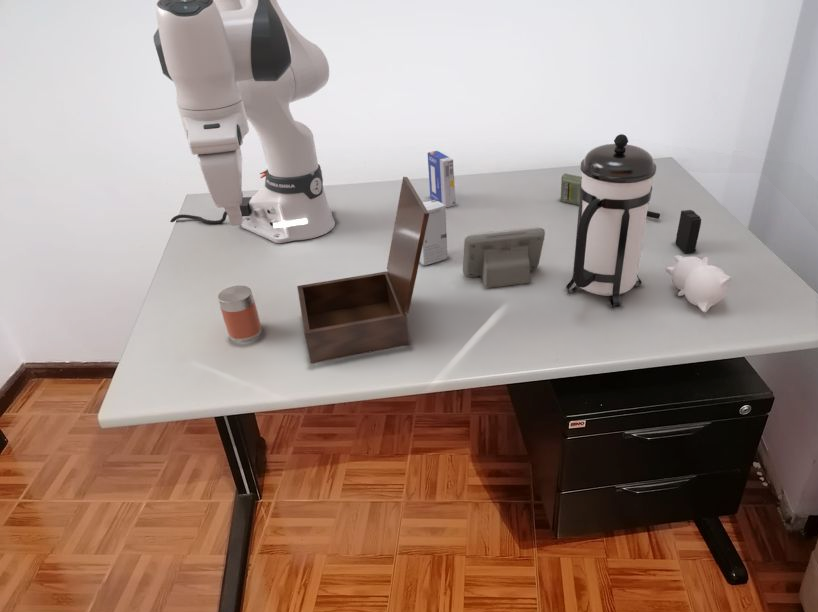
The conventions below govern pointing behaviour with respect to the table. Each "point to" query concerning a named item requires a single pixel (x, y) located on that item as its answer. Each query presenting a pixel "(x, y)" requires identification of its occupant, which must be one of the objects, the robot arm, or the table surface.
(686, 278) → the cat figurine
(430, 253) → the cosmetic box
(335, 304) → the chest
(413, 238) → the lid
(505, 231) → the digital clock
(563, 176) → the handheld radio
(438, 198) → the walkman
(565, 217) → the table surface
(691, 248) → the ink cartridge
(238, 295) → the can
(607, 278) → the coffee press
